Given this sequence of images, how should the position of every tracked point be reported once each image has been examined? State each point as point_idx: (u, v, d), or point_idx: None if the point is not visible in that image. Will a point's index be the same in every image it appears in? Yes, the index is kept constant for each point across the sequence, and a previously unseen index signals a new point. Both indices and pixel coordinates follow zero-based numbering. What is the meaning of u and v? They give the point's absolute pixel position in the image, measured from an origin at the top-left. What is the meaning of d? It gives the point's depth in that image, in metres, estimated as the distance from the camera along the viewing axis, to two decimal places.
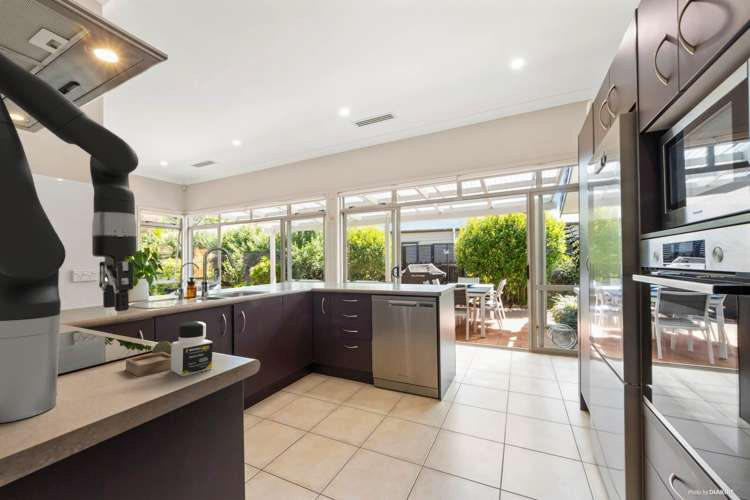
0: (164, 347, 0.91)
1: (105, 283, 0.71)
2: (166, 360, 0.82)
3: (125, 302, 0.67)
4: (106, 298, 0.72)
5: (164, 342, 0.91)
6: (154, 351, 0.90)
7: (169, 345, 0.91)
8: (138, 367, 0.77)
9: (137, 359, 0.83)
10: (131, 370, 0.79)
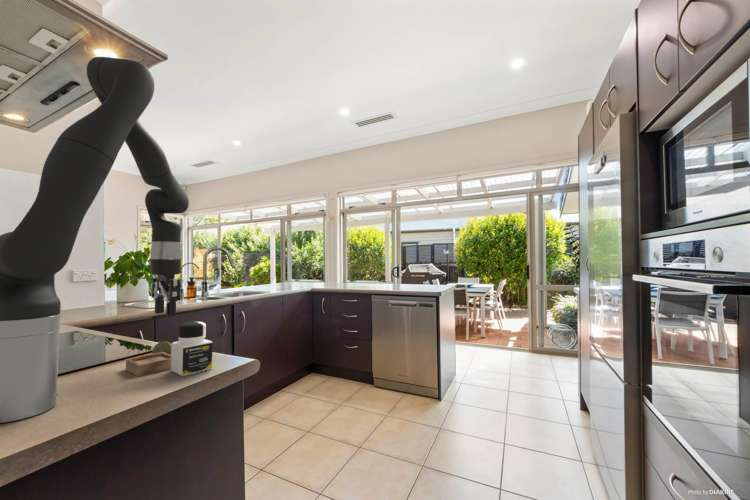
0: (164, 347, 0.91)
1: (157, 294, 0.93)
2: (166, 360, 0.82)
3: (174, 310, 0.89)
4: (157, 306, 0.93)
5: (164, 342, 0.91)
6: (154, 351, 0.90)
7: (169, 345, 0.91)
8: (138, 367, 0.77)
9: (137, 359, 0.83)
10: (131, 370, 0.79)
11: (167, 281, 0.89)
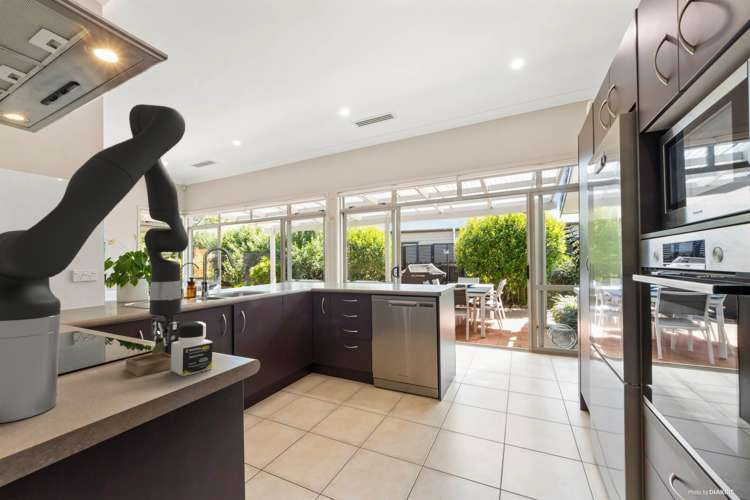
0: None
1: (157, 335, 0.92)
2: (166, 360, 0.82)
3: None
4: None
5: None
6: (154, 351, 0.90)
7: None
8: (138, 367, 0.77)
9: (137, 359, 0.83)
10: (131, 370, 0.79)
11: (166, 323, 0.88)
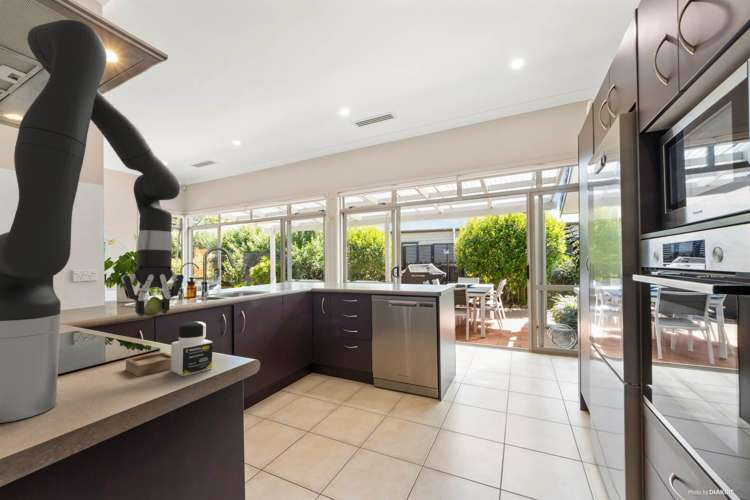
0: None
1: (160, 290, 0.85)
2: (166, 360, 0.82)
3: (136, 309, 0.80)
4: None
5: None
6: None
7: None
8: (138, 367, 0.77)
9: (137, 359, 0.83)
10: (131, 370, 0.79)
11: None
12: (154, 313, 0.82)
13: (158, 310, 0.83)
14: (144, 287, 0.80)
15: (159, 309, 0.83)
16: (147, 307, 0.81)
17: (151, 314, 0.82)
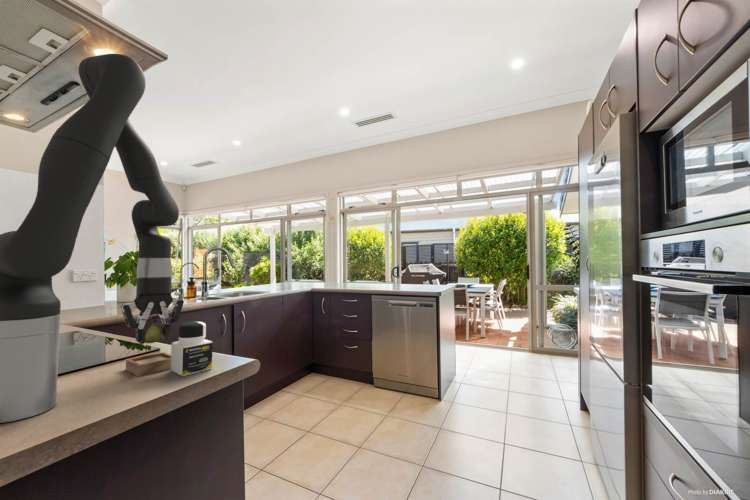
0: None
1: (160, 316, 0.85)
2: (166, 360, 0.82)
3: (137, 337, 0.80)
4: None
5: None
6: None
7: None
8: (138, 367, 0.77)
9: (137, 359, 0.83)
10: (131, 370, 0.79)
11: None
12: (155, 340, 0.82)
13: (158, 337, 0.83)
14: (144, 315, 0.80)
15: (159, 336, 0.83)
16: (147, 334, 0.81)
17: (152, 341, 0.82)
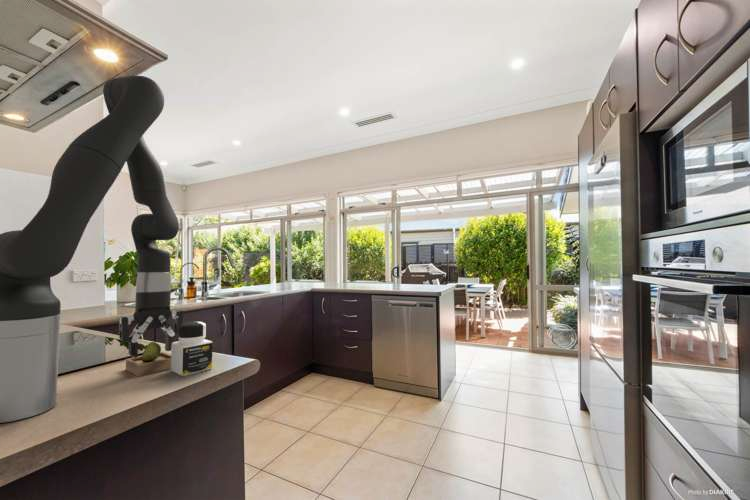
0: None
1: None
2: (166, 360, 0.82)
3: (130, 351, 0.79)
4: (165, 342, 0.86)
5: (150, 343, 0.83)
6: None
7: None
8: (138, 367, 0.77)
9: (137, 359, 0.83)
10: (131, 370, 0.79)
11: None
12: (152, 359, 0.82)
13: (156, 356, 0.82)
14: (140, 329, 0.80)
15: (157, 354, 0.83)
16: (145, 353, 0.80)
17: (149, 360, 0.81)
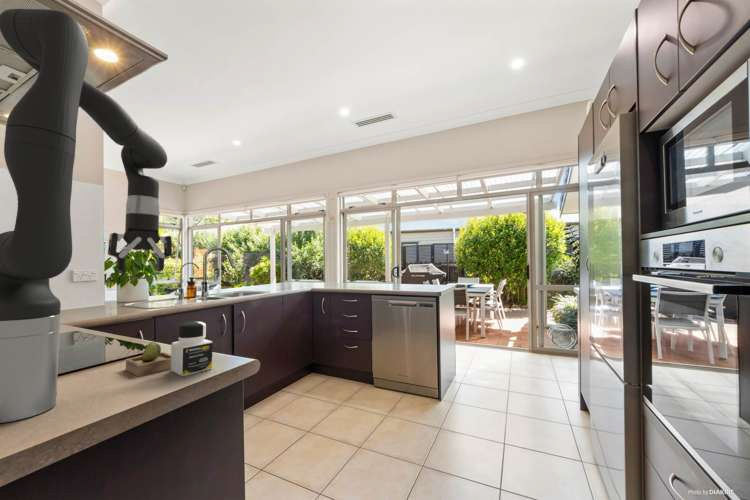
0: None
1: (153, 252, 0.92)
2: (166, 360, 0.82)
3: (117, 265, 0.84)
4: (156, 264, 0.92)
5: (150, 343, 0.83)
6: None
7: None
8: (138, 367, 0.77)
9: (137, 359, 0.83)
10: (131, 370, 0.79)
11: None
12: (152, 359, 0.82)
13: (156, 356, 0.82)
14: (129, 246, 0.85)
15: (157, 354, 0.83)
16: (145, 353, 0.80)
17: (149, 360, 0.81)
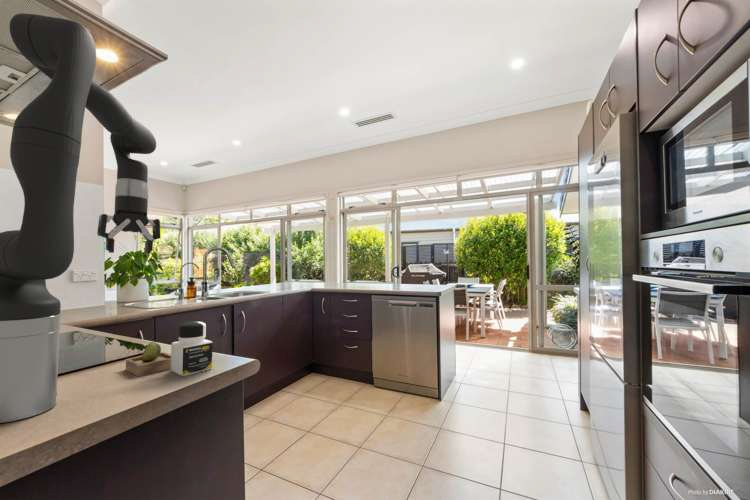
0: None
1: (142, 234, 0.95)
2: (166, 360, 0.82)
3: (107, 246, 0.87)
4: (145, 246, 0.95)
5: (150, 343, 0.83)
6: None
7: None
8: (138, 367, 0.77)
9: (137, 359, 0.83)
10: (131, 370, 0.79)
11: None
12: (152, 359, 0.82)
13: (156, 356, 0.82)
14: (118, 227, 0.88)
15: (157, 354, 0.83)
16: (145, 353, 0.80)
17: (149, 360, 0.81)
